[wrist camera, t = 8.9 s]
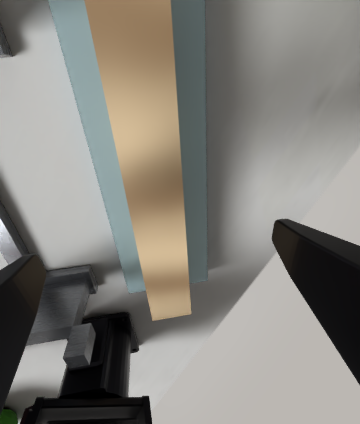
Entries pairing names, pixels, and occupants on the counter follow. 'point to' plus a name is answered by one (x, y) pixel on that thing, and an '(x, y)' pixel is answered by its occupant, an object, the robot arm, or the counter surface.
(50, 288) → the hook stand
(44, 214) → the counter surface
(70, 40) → the board
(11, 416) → the bell pepper
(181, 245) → the oak rail
